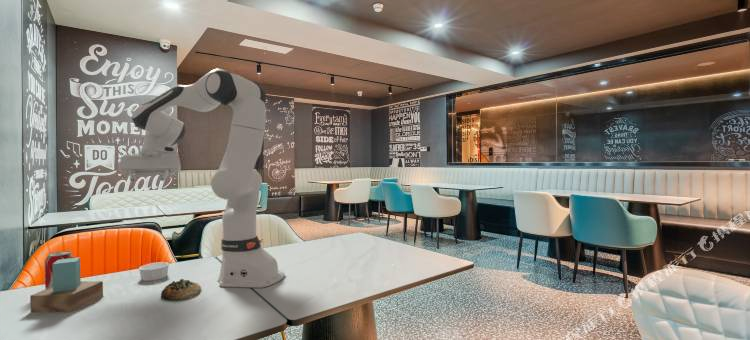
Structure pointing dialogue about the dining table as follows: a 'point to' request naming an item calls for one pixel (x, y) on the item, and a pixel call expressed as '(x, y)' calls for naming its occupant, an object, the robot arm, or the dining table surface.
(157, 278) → the ramekin
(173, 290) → the bread roll
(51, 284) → the soda can
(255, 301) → the dining table surface
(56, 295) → the walnut block
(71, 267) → the teal pillar
